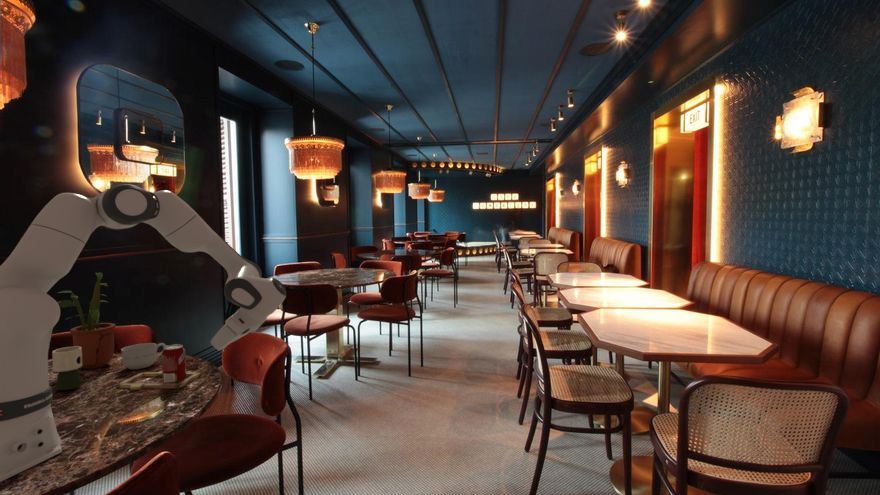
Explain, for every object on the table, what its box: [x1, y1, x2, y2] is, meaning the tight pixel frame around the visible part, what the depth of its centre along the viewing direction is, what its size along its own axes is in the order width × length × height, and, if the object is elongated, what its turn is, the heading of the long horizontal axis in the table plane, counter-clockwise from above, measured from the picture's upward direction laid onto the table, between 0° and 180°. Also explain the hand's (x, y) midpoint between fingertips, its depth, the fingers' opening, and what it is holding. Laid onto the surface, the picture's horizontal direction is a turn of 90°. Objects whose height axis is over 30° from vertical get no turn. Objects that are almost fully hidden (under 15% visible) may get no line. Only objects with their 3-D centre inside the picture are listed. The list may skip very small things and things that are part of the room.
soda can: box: [161, 343, 187, 384], centre depth 144 cm, size 7×7×12 cm
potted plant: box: [56, 272, 116, 370], centre depth 156 cm, size 17×16×35 cm
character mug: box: [51, 346, 83, 391], centre depth 138 cm, size 11×7×13 cm, turn 39°
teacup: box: [120, 342, 167, 371], centre depth 160 cm, size 14×11×8 cm
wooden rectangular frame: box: [115, 369, 202, 391], centre depth 144 cm, size 15×21×1 cm
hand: (219, 348), depth 143 cm, fingers closed
